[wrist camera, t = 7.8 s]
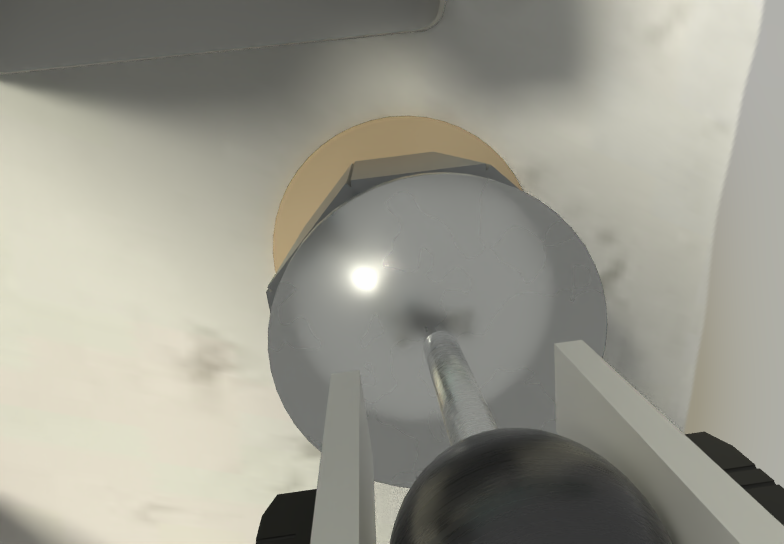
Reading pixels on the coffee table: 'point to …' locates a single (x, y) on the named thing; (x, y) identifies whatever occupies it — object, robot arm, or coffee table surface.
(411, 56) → the coffee table surface
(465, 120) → the coffee table surface
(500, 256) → the plunger
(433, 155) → the grey faceted container
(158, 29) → the grey notched holder
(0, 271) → the coffee table surface
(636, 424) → the robot arm
